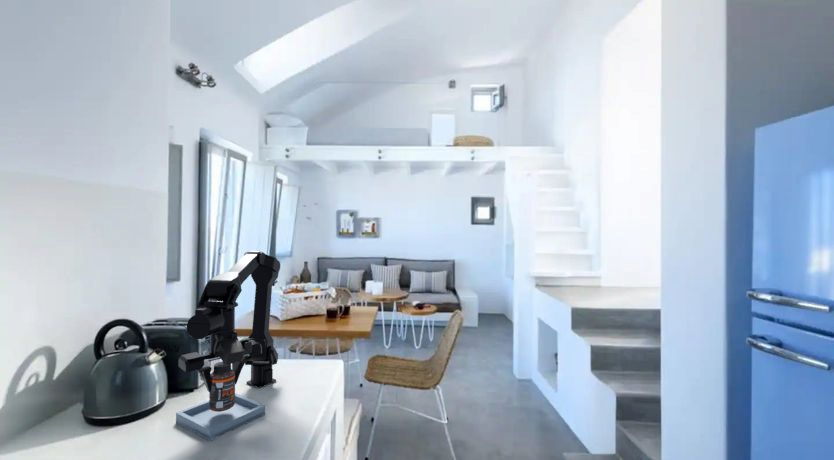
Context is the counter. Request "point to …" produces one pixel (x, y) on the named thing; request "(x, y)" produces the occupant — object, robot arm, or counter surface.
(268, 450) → the counter surface
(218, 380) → the supplement bottle
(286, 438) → the counter surface
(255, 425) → the counter surface
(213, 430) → the tray
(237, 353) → the robot arm
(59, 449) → the counter surface
